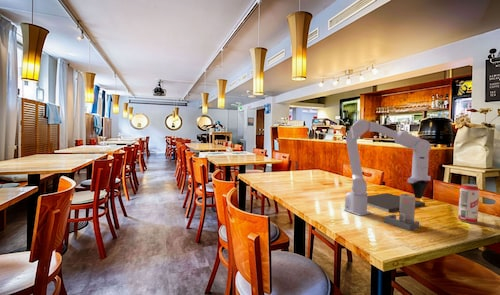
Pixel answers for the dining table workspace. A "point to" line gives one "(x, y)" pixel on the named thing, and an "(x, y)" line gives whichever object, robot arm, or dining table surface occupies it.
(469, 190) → the beer can
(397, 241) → the dining table surface
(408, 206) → the energy drink
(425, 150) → the robot arm
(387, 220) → the metal berth
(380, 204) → the notebook
